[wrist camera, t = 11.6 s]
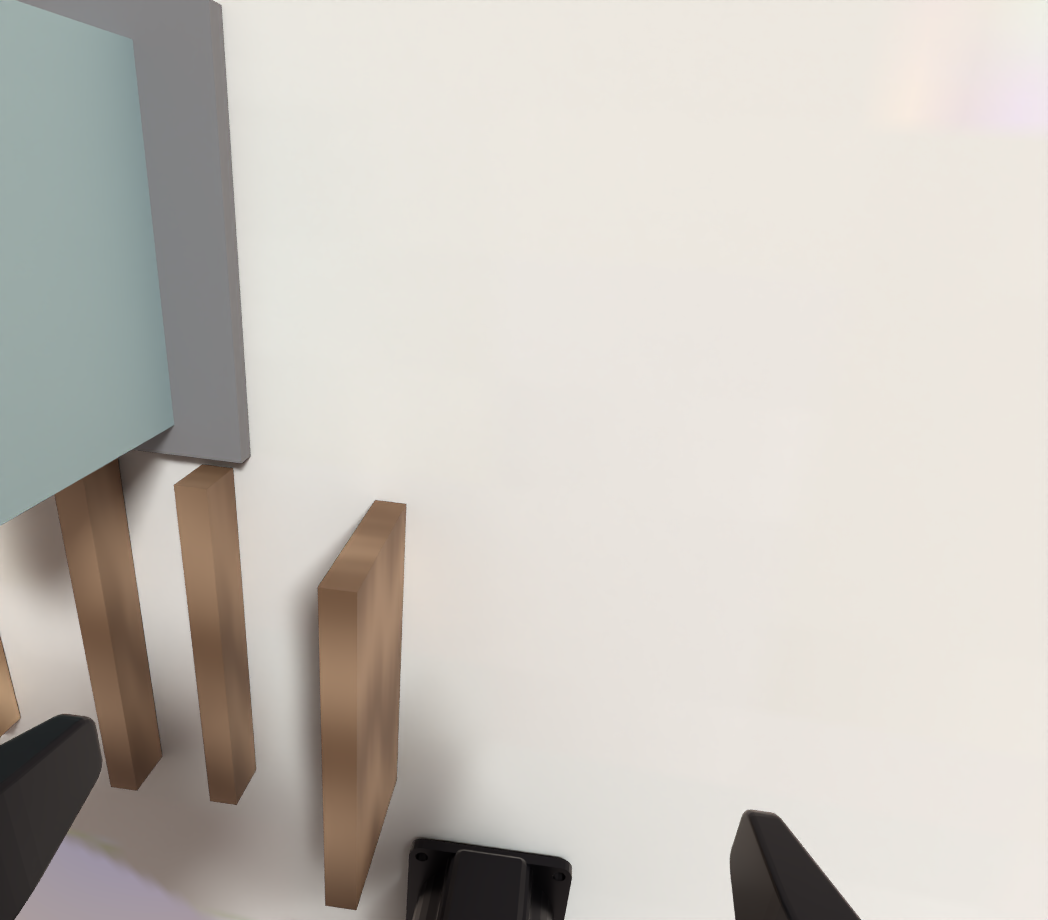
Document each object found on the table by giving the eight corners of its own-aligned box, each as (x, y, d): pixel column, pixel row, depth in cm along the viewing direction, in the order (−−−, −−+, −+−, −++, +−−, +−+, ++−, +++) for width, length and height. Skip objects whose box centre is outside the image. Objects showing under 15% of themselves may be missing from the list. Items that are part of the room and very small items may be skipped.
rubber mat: (250, 456, 21) (241, 463, 20) (65, 432, 21) (52, 439, 20) (221, 4, 16) (208, -2, 16) (-16, -19, 16) (-36, -27, 16)
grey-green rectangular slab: (174, 424, 20) (-65, 563, 13) (109, 417, 20) (-166, 549, 13) (132, 39, 16) (-249, -89, 9) (53, 30, 16) (-392, -103, 9)
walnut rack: (396, 789, 26) (356, 920, 21) (137, 753, 26) (42, 873, 22) (406, 489, 21) (357, 575, 16) (86, 449, 21) (-51, 522, 17)
